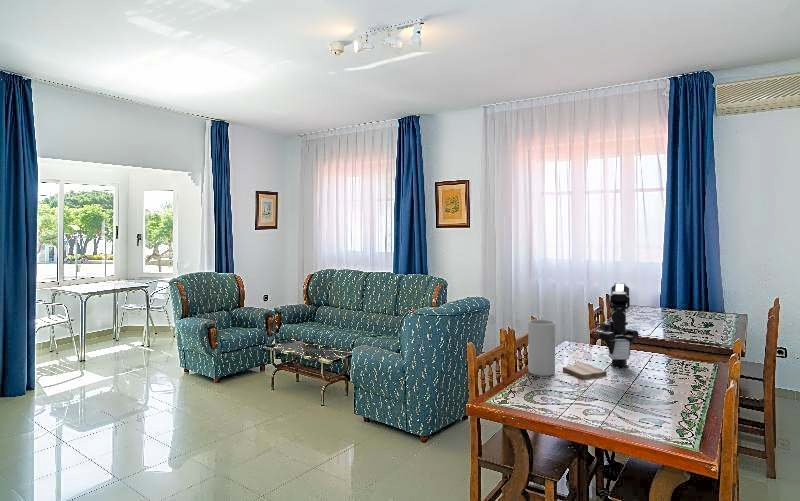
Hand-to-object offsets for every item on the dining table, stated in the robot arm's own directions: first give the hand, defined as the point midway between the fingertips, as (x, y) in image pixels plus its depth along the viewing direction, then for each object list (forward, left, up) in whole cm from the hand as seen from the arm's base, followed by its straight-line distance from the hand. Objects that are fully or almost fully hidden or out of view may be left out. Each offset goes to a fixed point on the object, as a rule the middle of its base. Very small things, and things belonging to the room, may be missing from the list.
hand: (618, 352), depth 225 cm
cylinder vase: (+27, -21, -12) cm, 37 cm away
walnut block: (+9, -12, -12) cm, 19 cm away
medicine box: (0, 0, -3) cm, 3 cm away
